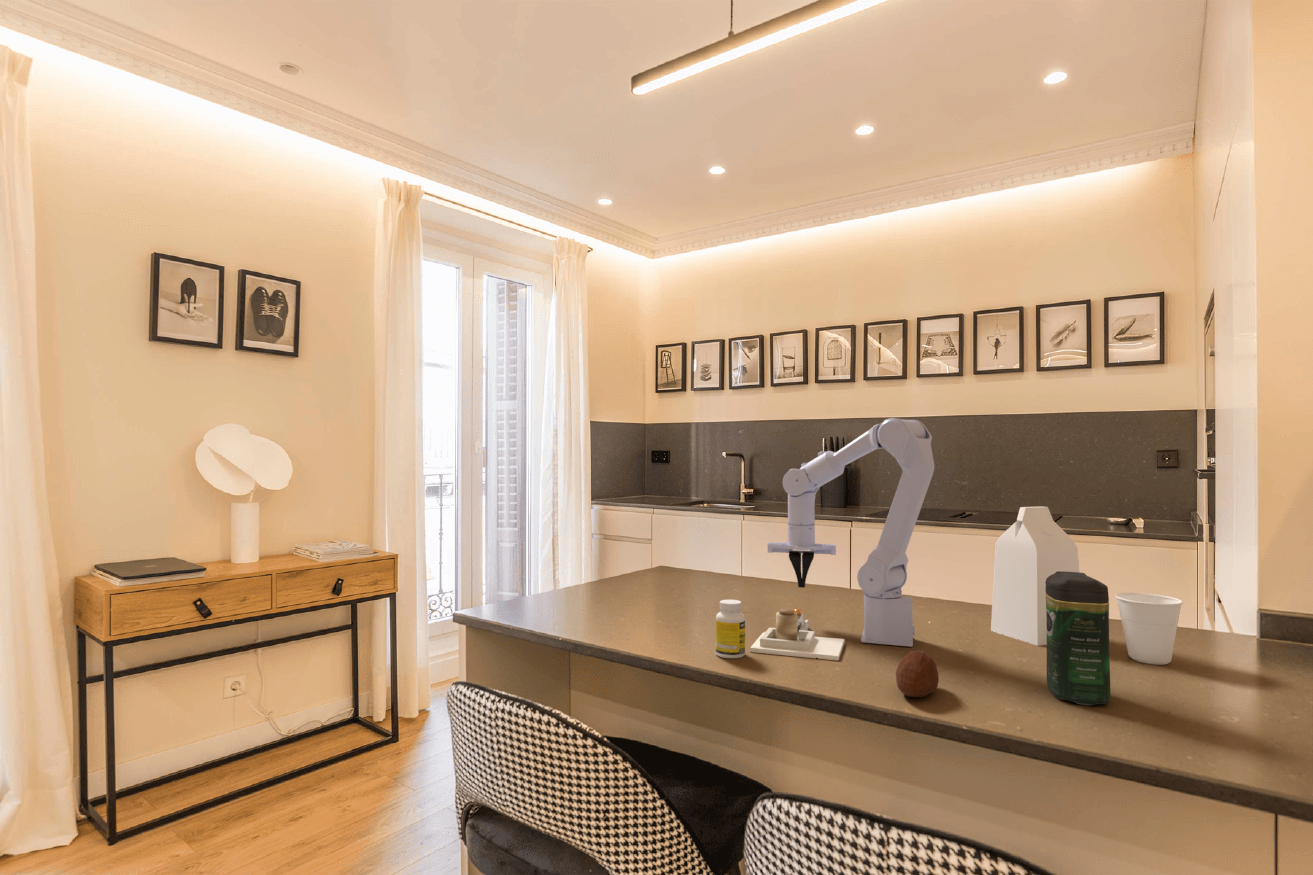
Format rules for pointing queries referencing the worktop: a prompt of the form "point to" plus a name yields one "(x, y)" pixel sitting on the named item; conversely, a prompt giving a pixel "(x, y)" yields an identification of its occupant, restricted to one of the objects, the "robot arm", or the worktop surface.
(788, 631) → the beige lidded canister
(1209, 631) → the worktop surface
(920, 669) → the potato
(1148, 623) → the cup
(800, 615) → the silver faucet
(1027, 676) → the worktop surface
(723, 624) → the supplement bottle
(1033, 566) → the milk
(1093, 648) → the coffee jar
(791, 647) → the dock
